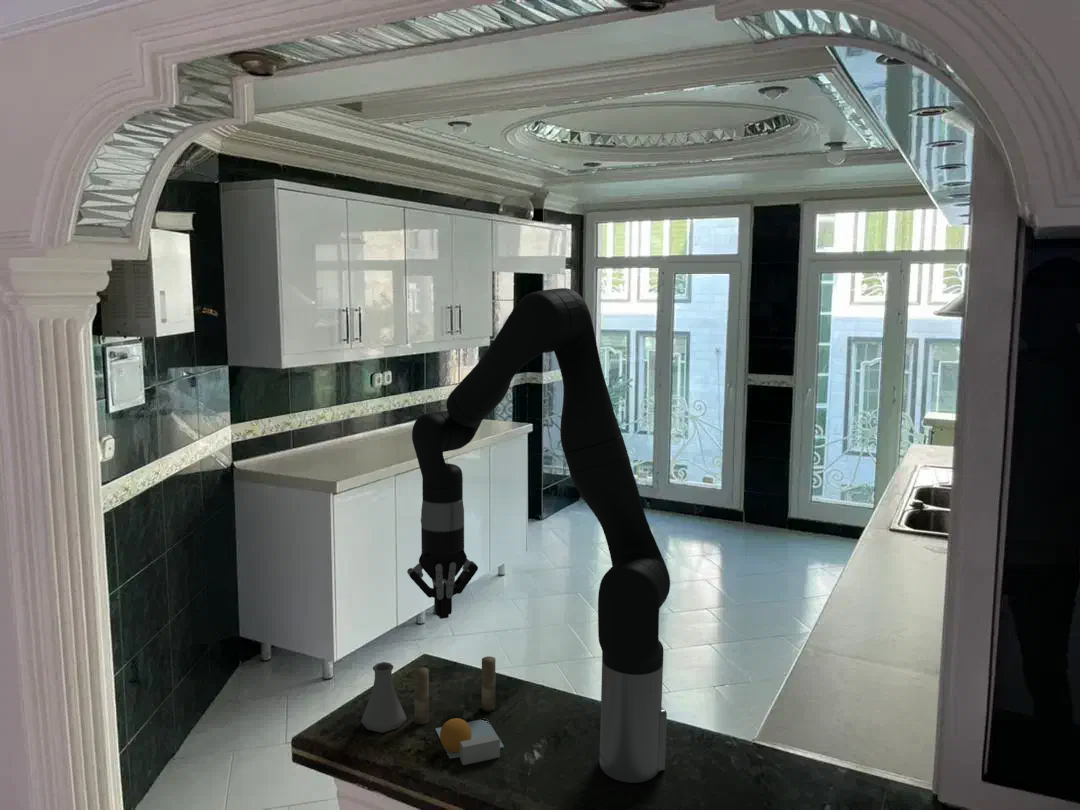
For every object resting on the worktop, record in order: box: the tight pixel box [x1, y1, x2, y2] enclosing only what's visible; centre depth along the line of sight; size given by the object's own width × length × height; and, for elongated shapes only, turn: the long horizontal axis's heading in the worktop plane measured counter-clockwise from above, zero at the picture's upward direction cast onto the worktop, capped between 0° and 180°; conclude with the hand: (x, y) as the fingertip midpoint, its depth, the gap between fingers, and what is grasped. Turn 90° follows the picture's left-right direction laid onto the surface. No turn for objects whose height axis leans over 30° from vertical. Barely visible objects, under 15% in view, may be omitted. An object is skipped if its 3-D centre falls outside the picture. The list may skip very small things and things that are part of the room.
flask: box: [360, 661, 408, 734], centre depth 134 cm, size 7×7×10 cm
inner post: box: [481, 656, 496, 710], centre depth 138 cm, size 2×2×9 cm
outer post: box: [413, 667, 430, 725], centre depth 134 cm, size 2×2×9 cm
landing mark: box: [434, 719, 505, 760], centre depth 130 cm, size 9×9×1 cm
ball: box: [439, 717, 472, 752], centre depth 126 cm, size 5×5×5 cm
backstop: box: [459, 733, 501, 766], centre depth 124 cm, size 6×2×3 cm, turn 112°
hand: (443, 616), depth 142 cm, fingers closed
